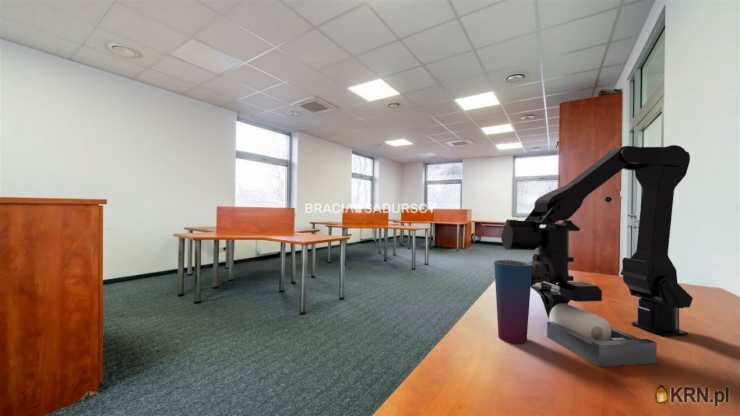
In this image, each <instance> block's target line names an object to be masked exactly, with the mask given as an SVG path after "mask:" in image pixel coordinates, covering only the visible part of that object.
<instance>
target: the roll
mask: <svg viewBox="0 0 740 416" xmlns="http://www.w3.org/2000/svg"><path fill="white" fill-rule="evenodd" d="M549 320H550V321H549ZM548 321H549V322H555V323H557V324H559V325H561V326H563V327H565V328H567V329H569V330H571V331H574V332H576V333H578V334H580V335H582V336H584V337H586V338H588V339H590V340H592V341H609V340H610V337H611V328H610V327H611V325H610V323H609V322H608V320H607V319H606V318H604V317H602V316H599V315H596V314H594V313H591V312H588V311H586V310H584V309H581V308H580V307H577V306H576V307H575V306H574V305H571V304H569V303H568V304H566V303H559V304H557V305H555V306H554V307H553V308H552V310H551V312H550V315H549V319H548Z"/></svg>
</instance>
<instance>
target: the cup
mask: <svg viewBox="0 0 740 416" xmlns="http://www.w3.org/2000/svg"><path fill="white" fill-rule="evenodd" d="M493 267H494V280H495V282H494V285H495V297H496V299H495V300H496V315H497V316H496V317H497V331H498V333H497V335H498V338H499V339H500V340H501V341H504V342H506V343H509V344H513V345H523V344H526V343H527V342H528V341H527V340H528V331H529V330H528V327H529V315H530V314H529V313H530V301H531V289H532V288H531V276H532V264H531V263H529V262H528V261H523V260H513V259H497V260H494V261H493Z"/></svg>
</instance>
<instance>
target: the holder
mask: <svg viewBox="0 0 740 416" xmlns="http://www.w3.org/2000/svg"><path fill="white" fill-rule="evenodd" d="M610 328H611V337H610V340H609V341H592V340H590V339H588V338H586V337H584V336H582V335H580V334H578V333H576V332H574V331H571V330H569V329H567V328H565V327H563V326H561V325H559V324H557V323H555V322H550V321H547V322H546V330H547V331H546V334H547V335H546V337H547V338H549V340H551V341H554V342H555V343H557V344H558V345H561V346H563V347H564V348H566V349H567V350H569V351H571V352H572V353H574V354H575V355H578V356H579V357H581V358H583V359H584V360H586V361H588V362H590V363H591V364H594V365H596V367H599V368H605V367H620V366H619V365H624V366H638V365H637V364H641V365H654V364H655V365H656V364H658V363H657V362H658V361H657V359H658V358H657V356H658V355H657V353H658V351H657V347H658V346H657V343H658V342H656V341H654V340H652V339H649V338H640V337H637V336H634V335H632V334H629V333H627V332H625V331H623V330H620V329H617V328H615V327H613V326H610ZM635 364H636V365H635Z"/></svg>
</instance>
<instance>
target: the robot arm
mask: <svg viewBox="0 0 740 416" xmlns="http://www.w3.org/2000/svg"><path fill="white" fill-rule="evenodd" d="M690 162H691V155H690V152H688V151H686V149H685V148H683V147H682V146H680V145H674V144H672V145H668V146H635V145H634V146H633V145H623V146H620V147H616V148H614V149H610V150H608V151H607V152H606V153H605V155H604V156H602V157H601V158H600V159H599V160H597V161H596V162H595V163H593V164H592V165H591V166H589V167H587V169H585V170H584V171H583V172H581V173H580V174H579V175H577V176H576V177H574V179H572V180H571V181H569V182H568V183H566V184H565V185H562V186H561V187H559V188H556V189H553V190H551V191H549V192H547V193H545V194H543V195H541V196H539V197H538V198H537V199H536V200H535V202H534V208H533V209H532V211H530V213H529V214H528V215H527V216H526V218H525V219H524V220H519V219H506V220H505V225H504V226H503V229H502V232H501V242H502V243H501V244H502V246H503V248H504V249H505V250H506V251H535V250H536V249H537V248H538V250H537V251H538V253H534V254H533V255H532V261H529V262H528V263H531V264H532V276H531V289H532V290H533V291H535V292H536V294H538V295H539V296H540V299H541V301H542V304H543V307H544V309H545V311H546V312H545V313H546V316H547V319H548V322H550V320H549V315H550V312H551V310H552V308H553V307H554V306H555V305H557V304H559V303H566V304H568V305H569V303H570V302H571V301H573V302H576V303H577V302H580V303H581V302H602V301H603V290H602V288H600V286H598V285H596V284H592V283H589V282H585V281H574V278H575V276H573V275H570V273H569V270H570V268H569V266H570V263H573V262H574V261H575V260H574V256H569V255H570V249H569V248H570V232H579V231H580V230H581V228H580V227H578V226H577V225H576V224H575V223H574V222H573V221H572V219H570V218H572V217H573V216H574V215H575V214H576V212H577V211H578V210H579V209H580V208H581V207H582V205H583V203H584V200H585V199H586V198H587V197H588V196H589V195H590V194H592V193H593V192H594V191H596V190H597V189H599V188H600V187H601V186H602V185H603V184H605V183H606V182H607V181H609V180H610V179H611V178H613V177H614V176H616V175H617V174H618V173H619V172H621V171H622V170H626V171H633V172H634V175H635V178H636V180H637V181H638V183H639V184H640V186H641V189H642V192H641V202H640V211H639V219H638V220H639V223H638V230H637V231H638V232H637V241H636V242H637V243H636V250H635V252H634V254H632V256H630V258H629V257H623V259H622V267H621V268H622V270H621V272H620V273H619V274H620V275H621V276H622V281H623V283H624V284H625V285H626V286H627V288H628V290H629V293H630V295H631V296H632V297H637V298H638V306H637V321H630V324H631V325H632V326H635V327H638V328H640V329H643V330H646V331H649V332H652V333H654V334H657V335H660V336H665V337H668V336H669V337H670V336H688V335H689V332H688V331H686V330H682V329H680V309H684V308H686V309H687V308H690V307H691V305H692V302H693V299H694V298H693V296H692V295H690V294H689V292H687V291H686V290H685V289H684V288H683V287H682V286H681V285H680V284H679V283H678V273H677V268H676V266H675V265H674V264H673V262H672V260H671V258H670V257H669V247H670V238H671V237H670V236H671V229H672V228H671V227H672V218H673V217H672V216H673V206H674V195H675V190H676V187H677V186H678V185H679V184H680V183H681V182H682V180H683V179H684V178H685V177H686V175H687V172H688V169H689V165H690ZM559 221H560V222H559ZM541 225H542V226H544V227H541Z"/></svg>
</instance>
